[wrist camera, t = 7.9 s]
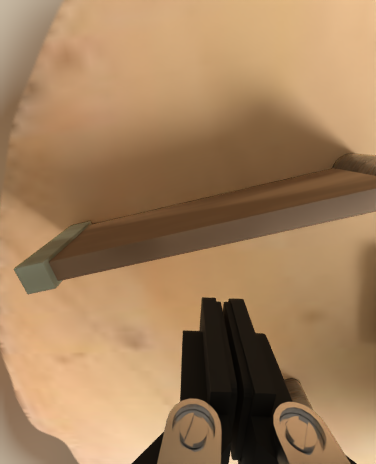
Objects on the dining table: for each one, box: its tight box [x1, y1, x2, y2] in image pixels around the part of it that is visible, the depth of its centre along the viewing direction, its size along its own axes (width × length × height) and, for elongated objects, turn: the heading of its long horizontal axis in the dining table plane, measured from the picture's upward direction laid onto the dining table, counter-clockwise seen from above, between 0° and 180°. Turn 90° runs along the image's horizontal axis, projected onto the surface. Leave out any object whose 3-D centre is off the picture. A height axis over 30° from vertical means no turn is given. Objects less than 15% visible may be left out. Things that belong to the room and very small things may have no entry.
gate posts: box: [284, 154, 376, 410], centre depth 18 cm, size 2×25×8 cm, turn 178°
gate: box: [14, 168, 376, 294], centre depth 15 cm, size 2×20×7 cm, turn 103°
